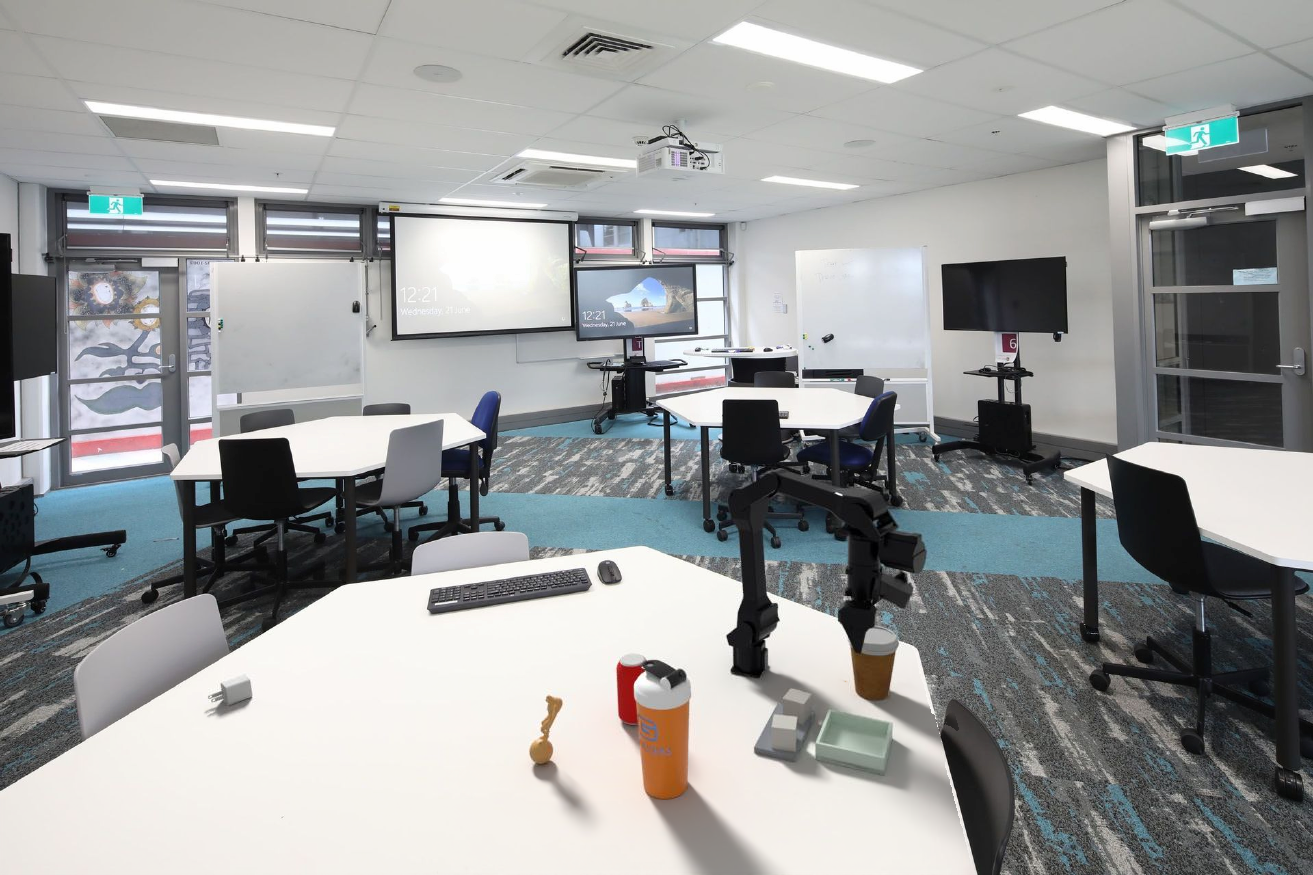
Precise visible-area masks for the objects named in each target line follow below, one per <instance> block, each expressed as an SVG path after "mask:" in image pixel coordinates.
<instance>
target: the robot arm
mask: <svg viewBox="0 0 1313 875" xmlns="http://www.w3.org/2000/svg"><path fill="white" fill-rule="evenodd" d="M777 494H781V495H785V496H788V497H790V498H794V499H795V500H799V501H802V502H804V503H806V504H807V503H808V504H811V505H813V506H817V507H818V508H822V509H824V510H827V511H829V512H831V513H832V514H833V515H834V516H835V517H836V519H838V520H840V521H841V522H844V524H843V525H842V526H841V527H840V528H839V529H837V530H836V534H837V535H839V536H840V535H841V536H845V537H847V557H846V559H847V560H846V561H847V562H846V564H847V565H846V567H845V570H844V571H845V575H846V587H845V589H844V596H845V597H849V598H850V599H845V600H843V602H841V603H840V605H839V608H838V610H837V622H839V624H840V625H841V627H842V628H843V630H844V632H845V634H846V636H847V639H848V638H849V640H850V643H851V645H852V647H853V649H854V652H855V653H861V652H862V648H863V644H864V640H865V636H866V632H867V631H868V630H869V629H871V628H873V627H874V626H876V623H877V617H878V608H877V607H876V606H875V605H877V604H878V603H879V602H880V601H881V600H885V601H886V602H889V603H891V604H893V605H895V606H896V607H897V608H899V609H902V610H904V609H906V608H907V605H908V604H909V602H910V599H911V597H912V595H913V592H914V586H913V585H912V582H909V579H908V573H910V574H916V575H920V574H921V573H922V571H923V569H924V567H925V564H926V562H927V554H928V553H927V552H928V551H927V549H926V544H925V542H924V541H923V540H922V539H923V538H922V537H923V535H922V533H918V532H906V531H901V530H898V529H899V527H900V526H899V525H898V523H897V522H896V520H895V518H894V517H893V515H892V514H891V511H890V510H889V509H888V508H887V507H888V505H887V503H886V500H885V499H884V497H883V495H882V494H881V493H880V492H879V491H876V490H871V489H864V488H851V487H850V488H844V487H838V486H835V485H831V484H828V483H826V482H823V481H820V480H816V479H813V478H810V477H806V476H804V475H801V474H797V473H795V472H791V471H789V470H788V469H786V468H782V467H780V468H777V469H773V470H771V471H768V472H767V473H765V474H764V475H763V476H762V477H760V478H758V479H757V480H755V481H752V483H749V484H745V485H743V486H740V487H737V488H734V489H733V490H732V491H730V493H729V494H728V495H727V499H726V500H727V501H726V502H727V506H728V511H729V515H730V519H731V521H732V522H733V524H734V526H735V527H736V528H737V531H738V543H739V544H738V546H739V558H740V572H741V583H742V585H741V588H742V599H741V601H740V602H741V603H740V605H739V608H738V610H737V615H736V616H737V617H736V627H735V628H733V629H732V630H731V631H729V633H727V634H726V635H725V637H726V640H727V644H728V646H729V647H732V667H731V668H730V671H729V672H730V673H731V674H737V675H742V676H747V677H753V678H757V679H758V678H761V677H762V675H763V674H764V673H765V672H766V670H767V669H768V667H769V648H768V647H766V639H769V638H770V637H771V634H772V632H773V631H775V630H776V629H777V627H778V623H779V622H781V620H780V617H779V603H777V602H772V601H771V599H770V597H769V596H768V590H767V579H766V562H765V560H766V559H765V549H764V534H763V533H764V532H763V528H764V524H765V523H766V520H767V516H768V512H769V505H770V504H769V503H770V502H769V501H770V500H771V498H774V497H775V496H776V495H777ZM876 523H879V524H878V525H877V526H876V525H875V524H876ZM884 567H885V568H890V569H893V570H896V573H890V574H888V573H884ZM897 570H898V571H897Z"/></svg>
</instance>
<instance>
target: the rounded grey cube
mask: <svg viewBox="0 0 1313 875" xmlns="http://www.w3.org/2000/svg"><path fill="white" fill-rule="evenodd" d="M771 728H772V749H778V750H786V751H794V752H796V744H797V717H794V716H785V715H777V714H774V716H773V722H772V727H771Z"/></svg>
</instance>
